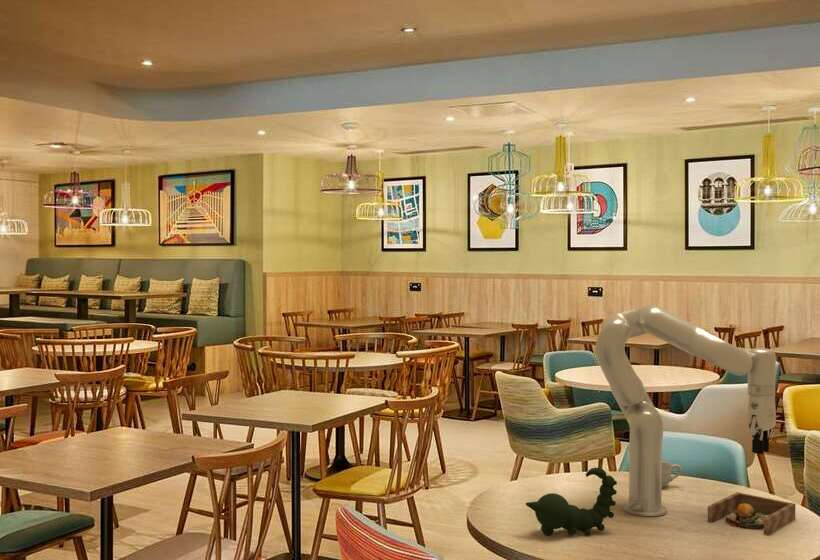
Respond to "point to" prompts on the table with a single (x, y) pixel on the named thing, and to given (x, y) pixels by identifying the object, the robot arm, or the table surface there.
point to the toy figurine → (575, 509)
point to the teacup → (669, 472)
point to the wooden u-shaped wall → (755, 510)
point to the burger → (745, 518)
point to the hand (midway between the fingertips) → (760, 451)
